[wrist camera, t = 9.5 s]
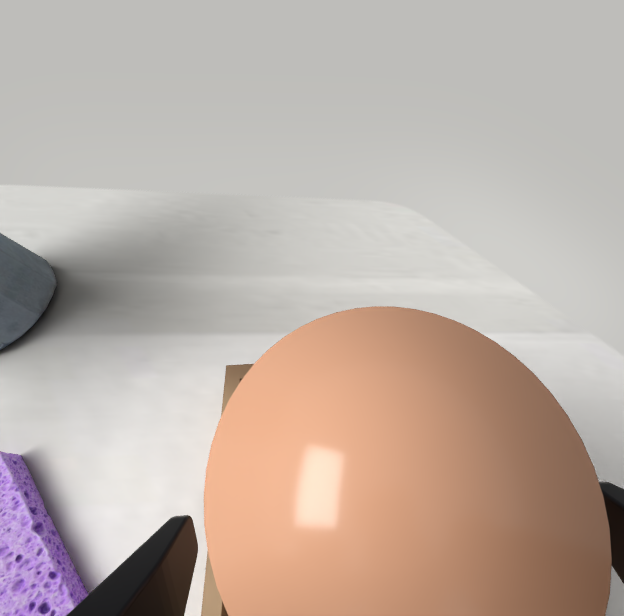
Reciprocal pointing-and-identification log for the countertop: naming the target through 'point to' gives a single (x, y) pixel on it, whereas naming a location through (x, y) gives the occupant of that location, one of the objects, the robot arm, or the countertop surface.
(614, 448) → the countertop surface
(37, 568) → the sponges
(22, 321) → the moka pot
